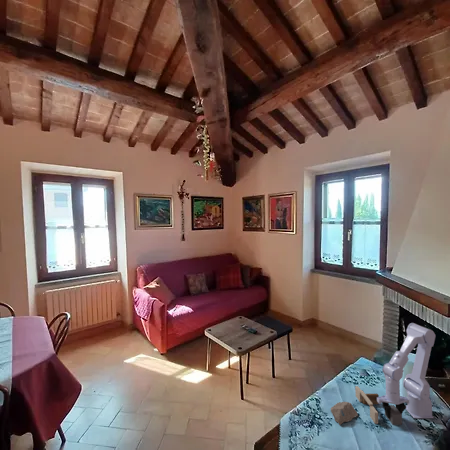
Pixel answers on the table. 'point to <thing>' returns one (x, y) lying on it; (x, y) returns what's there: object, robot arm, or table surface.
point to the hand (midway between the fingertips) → (393, 416)
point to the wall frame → (372, 410)
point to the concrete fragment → (343, 412)
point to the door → (371, 398)
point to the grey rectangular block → (395, 416)
